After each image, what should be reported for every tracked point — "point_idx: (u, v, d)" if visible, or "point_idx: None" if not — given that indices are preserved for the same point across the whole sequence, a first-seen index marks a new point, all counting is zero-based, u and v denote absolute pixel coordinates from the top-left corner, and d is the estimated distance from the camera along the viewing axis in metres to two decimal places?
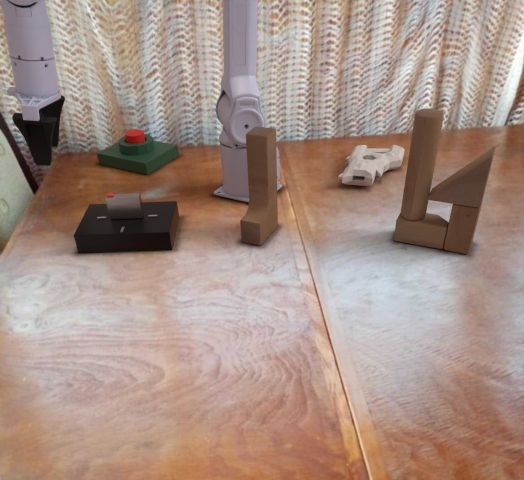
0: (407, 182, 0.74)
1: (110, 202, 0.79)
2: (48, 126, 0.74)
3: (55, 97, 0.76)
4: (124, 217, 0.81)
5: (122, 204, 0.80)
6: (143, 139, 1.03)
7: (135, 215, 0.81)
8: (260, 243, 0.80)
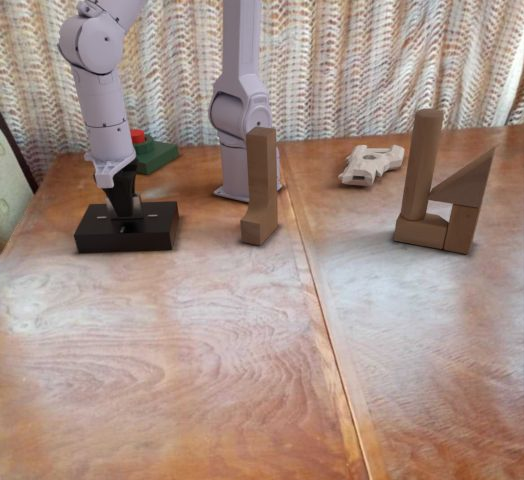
0: (407, 182, 0.74)
1: (110, 202, 0.79)
2: (126, 181, 0.75)
3: (129, 158, 0.74)
4: (124, 217, 0.81)
5: None
6: (143, 139, 1.03)
7: (135, 215, 0.81)
8: (260, 243, 0.80)
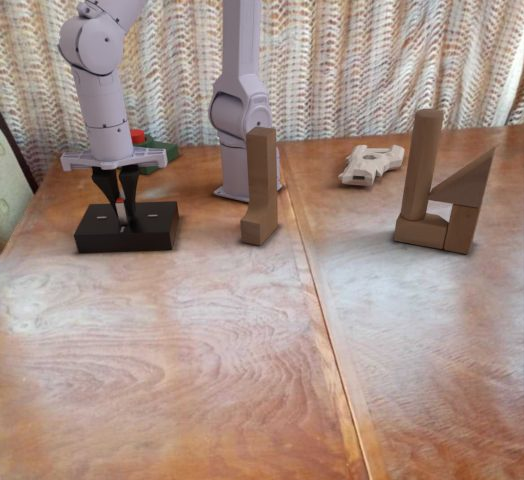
0: (407, 182, 0.74)
1: (125, 205, 0.78)
2: (140, 167, 0.79)
3: None
4: None
5: None
6: (143, 139, 1.03)
7: None
8: (260, 243, 0.80)
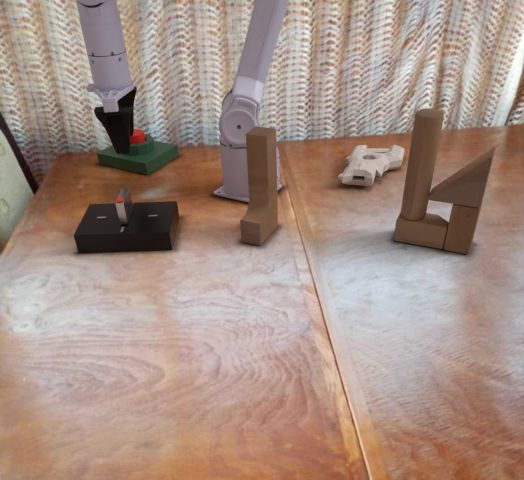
0: (407, 182, 0.74)
1: (125, 205, 0.78)
2: (126, 115, 0.80)
3: (129, 88, 0.82)
4: (130, 216, 0.81)
5: (127, 202, 0.80)
6: (143, 139, 1.03)
7: (132, 209, 0.82)
8: (260, 243, 0.80)
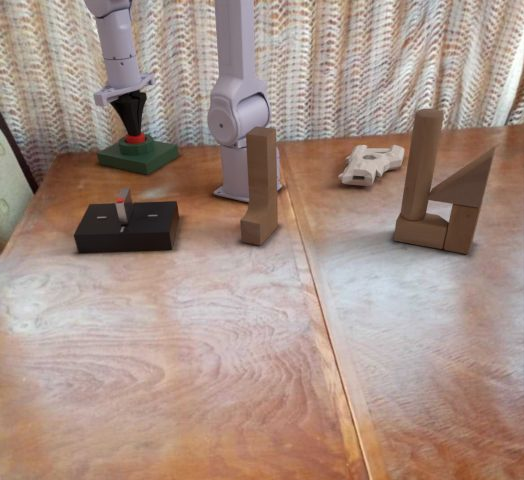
0: (407, 182, 0.74)
1: (125, 205, 0.78)
2: (127, 105, 0.96)
3: (130, 89, 0.95)
4: (130, 216, 0.81)
5: (127, 202, 0.80)
6: (143, 141, 1.03)
7: (132, 209, 0.82)
8: (260, 243, 0.80)
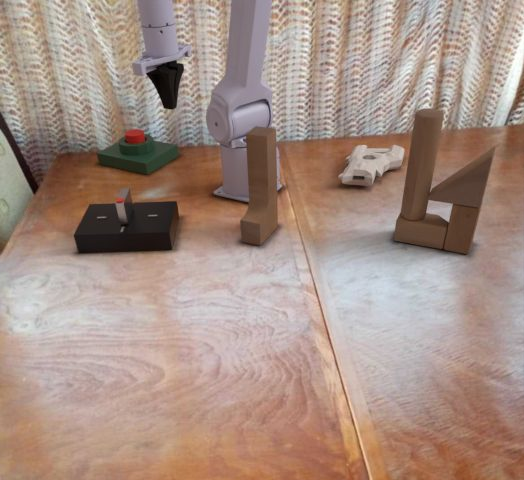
0: (407, 182, 0.74)
1: (125, 205, 0.78)
2: (165, 76, 0.94)
3: (168, 58, 0.92)
4: (130, 216, 0.81)
5: (127, 202, 0.80)
6: (143, 139, 1.03)
7: (132, 209, 0.82)
8: (260, 243, 0.80)
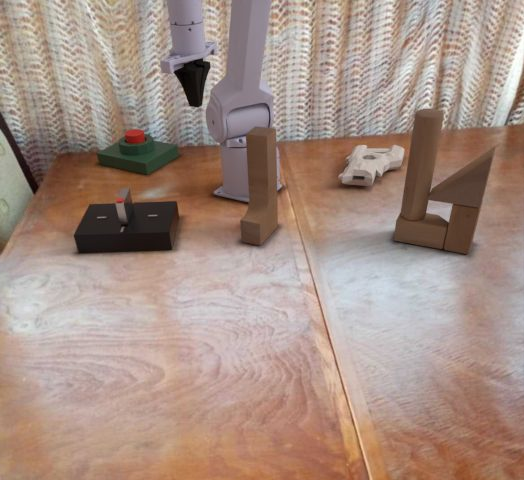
0: (407, 182, 0.74)
1: (125, 205, 0.78)
2: (192, 74, 0.94)
3: (196, 56, 0.92)
4: (130, 216, 0.81)
5: (127, 202, 0.80)
6: (143, 139, 1.03)
7: (132, 209, 0.82)
8: (260, 243, 0.80)
